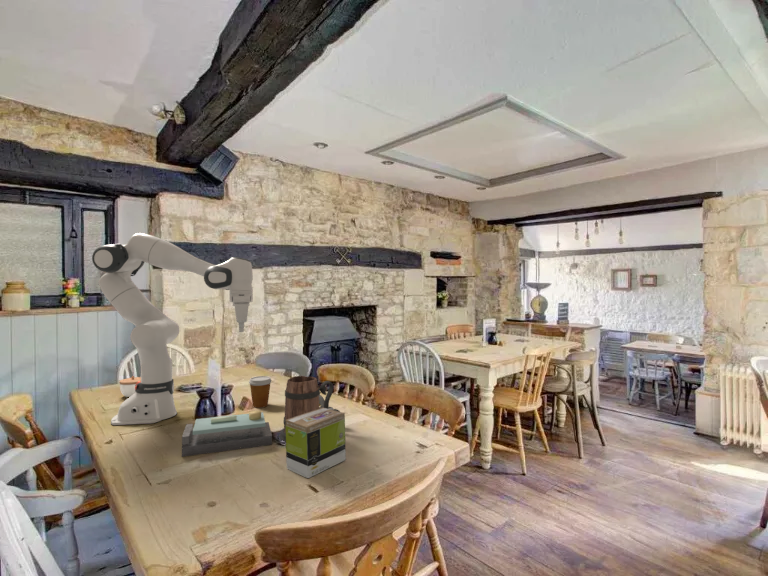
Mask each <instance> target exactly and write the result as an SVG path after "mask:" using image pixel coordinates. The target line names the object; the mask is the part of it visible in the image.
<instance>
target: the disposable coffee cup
mask: <svg viewBox="0 0 768 576" xmlns="http://www.w3.org/2000/svg"><path fill="white" fill-rule="evenodd" d="M271 383H272V379H271V376H268V375H265V376H264V375H262V376H253V377H250V378H249V381H248V384H249V387H250V395H251V401H252V407H253V406H254V407H253V408H257V409H258V408H261V409H262V408H265V407H268V405H269V398H270V389H271Z"/></svg>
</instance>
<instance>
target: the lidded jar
mask: <svg viewBox="0 0 768 576" xmlns="http://www.w3.org/2000/svg"><path fill="white" fill-rule="evenodd" d="M138 381H141V376H136V377H135V375H132V376H131V377H128V378H124V379H121V380H119V382H118V383H119V390H120V392H121V394H122V395H123V396H124V397H125V398H127V397H130V396H131V395H133V394H134V393H135V392H136V391H135V385H136V383H137V382H138Z"/></svg>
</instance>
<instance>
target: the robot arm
mask: <svg viewBox="0 0 768 576" xmlns="http://www.w3.org/2000/svg"><path fill="white" fill-rule="evenodd" d="M91 260H92V264H93V265H94V267H95V268H96V269H97V270H99V271H101V272H103V273H104V274H103V275H102V276H100V278H99V279H98V285H99V286H98V287H99V288H100V290H101V292H102V294H103V295H104V297H105V298H106V300H107V301H108V302H109V303H110V304H111V306H112V307H113V308H114V309H115V310H116V311H117V313H118V314H119V316H121V317H122V318H123V320H125V321H126V322H129V323H131V324H133V325H134V326H135V327H134V328H133V329H132V330H131V333H130V334H129V335H130V342H131V344H132V345H133V346H134V347H135V348H136V351H137V354H138V358H139V361H140V362H139V364H140V377H141V381H138V382H137V383H136V385H135V391H136V392H135V393H134V394H133V395H131V396H130V397H129V398H126V399H125V400H124V401H122V403H120V405H119V408H118V411H117V414H115V415H114V416H113V417H112V418H111V420H110V424H111V426H112V425H113V426H123V425H126V426H127V425H141V424H142V425H144V424H154V423H158V422H160V421H162V420H163V421H164V420H166V419H169V418H172V417H174V416H176V415H177V414H178V412H177V409H176V405H175V399H174V392H175V383H174V379H173V360H172V358H171V357H170V354H169V351H168V347H167V345H168V344H170V343H172V342H173V341H175V340H176V339H177V338H178V336H179V334H180V326H179V324H178V323H177V322H176V321H175V320H173V319H171V318H170V317H168V315H166V314H165V313H164V312H163V311H161V310H160V309H159V308H158V307H156V306H155V305H154V304H153V303H152V302H151V301H150V300H149V299H148V297H146V295H145V294H144V293H143V291H141V290H140V288H139V287H138V286H137V285H136V284H135V283H134V281H133V280H132V278H131V277H134V276H136V275H137V273H138V272H139V271H140V269H142V268H143V266H144V264H145V263H147V264H148V265H151V266H154V267H157V268H160V269H165V270H169V271H181V272H182V271H183V272H191V273H194V274H196V275H198V276H201V277H203V281H204V283H205V284H206V286H207V287H208V288H211V289H212V290H213V289H214V290H226V291H229V303H232V306H233V307H234V311H235V318H236V323H238V332H239V333H244V331H245V330H244V329H245V328H244V327H245V323H247V321H248V314H249V306H250V303H252V302H253V301H254V297H253V295H254V293H253V292H254V291H253V285H252V283H253V265H252V261H250V260H249V259H247V258H243V257H237V256H233V257H230V258H229V259H228V260H226V261H225V262H222V263H219V264H214V263H211V262H209V261H206V260H204V259H201V258H199V257H196V256H194V255H193V254H191V253H189V252H188V251H185V250H184V249H182V248H181V247H180V246H177V245H176V244H173V243H172V242H170V241H168V240H165V239H164V238H160V237H158V236H156V235H152V234H148V233H143V232H142V233H141V232H139V233H138V232H137V233H135V234H133V235H132V236H130V238H128V241H127V243H125V244H121V243H115V244H114V243H113V244H112V243H111V244H105V245H102V246H99V247H97V248H96V249H95V250H94V251H93V253H92V256H91Z"/></svg>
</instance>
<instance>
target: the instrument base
mask: <svg viewBox="0 0 768 576" xmlns="http://www.w3.org/2000/svg"><path fill="white" fill-rule="evenodd" d="M193 428H194V424H193V423H186V425H185V427H184V430H183V433H182V437H181V457H191V456H197V455H204V454H205V455H206V454H213V453H219V452H226V451H235V450H241V449H249V448H250V449H251V448H256V447H262V446H270V445H271V446H272V445H273V434H272V429H271V426H270V423H269V422H268V421H265V427H257V428H249V429H240V430H232V431H223V432H214V433H206V434H197V435H193Z"/></svg>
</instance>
